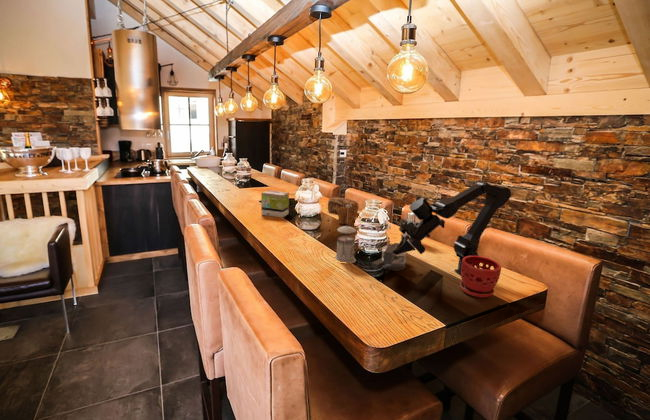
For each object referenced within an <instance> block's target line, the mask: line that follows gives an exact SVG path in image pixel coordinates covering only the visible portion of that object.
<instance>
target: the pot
mask: <svg viewBox="0 0 650 420" xmlns="http://www.w3.org/2000/svg"><path fill="white" fill-rule="evenodd" d="M406 259H407V254H406V255H405V256H395V258H394V260H393V262H392V264H391V265H390V264H384V263H383V262H384V253H383V252H382V251H381V258H379V259H377V260H374V261H372V262H371V266H370V267H371V268H373V269H377V270H378V269H380V268H384V269H386V270H389V271H394V272H395V271H398V272H399V271H403V270H404V269H406Z"/></svg>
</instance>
